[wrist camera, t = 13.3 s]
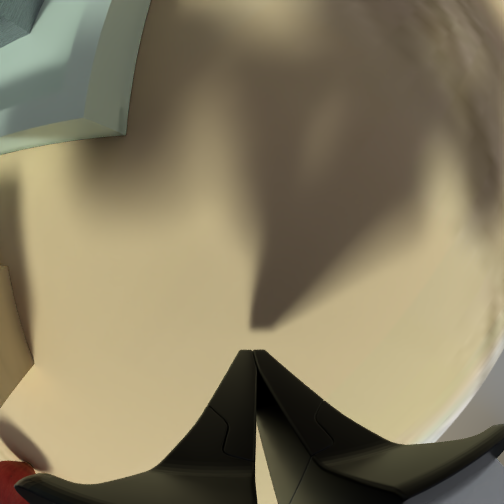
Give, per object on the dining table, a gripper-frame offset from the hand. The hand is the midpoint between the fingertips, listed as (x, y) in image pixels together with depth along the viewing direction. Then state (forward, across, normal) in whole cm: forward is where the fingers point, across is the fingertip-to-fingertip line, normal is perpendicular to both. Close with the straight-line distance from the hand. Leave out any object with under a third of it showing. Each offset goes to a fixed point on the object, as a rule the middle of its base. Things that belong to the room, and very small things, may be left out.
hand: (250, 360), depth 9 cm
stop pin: (0, +11, -14) cm, 18 cm away
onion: (+1, +19, +17) cm, 26 cm away
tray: (+1, +11, -14) cm, 18 cm away
